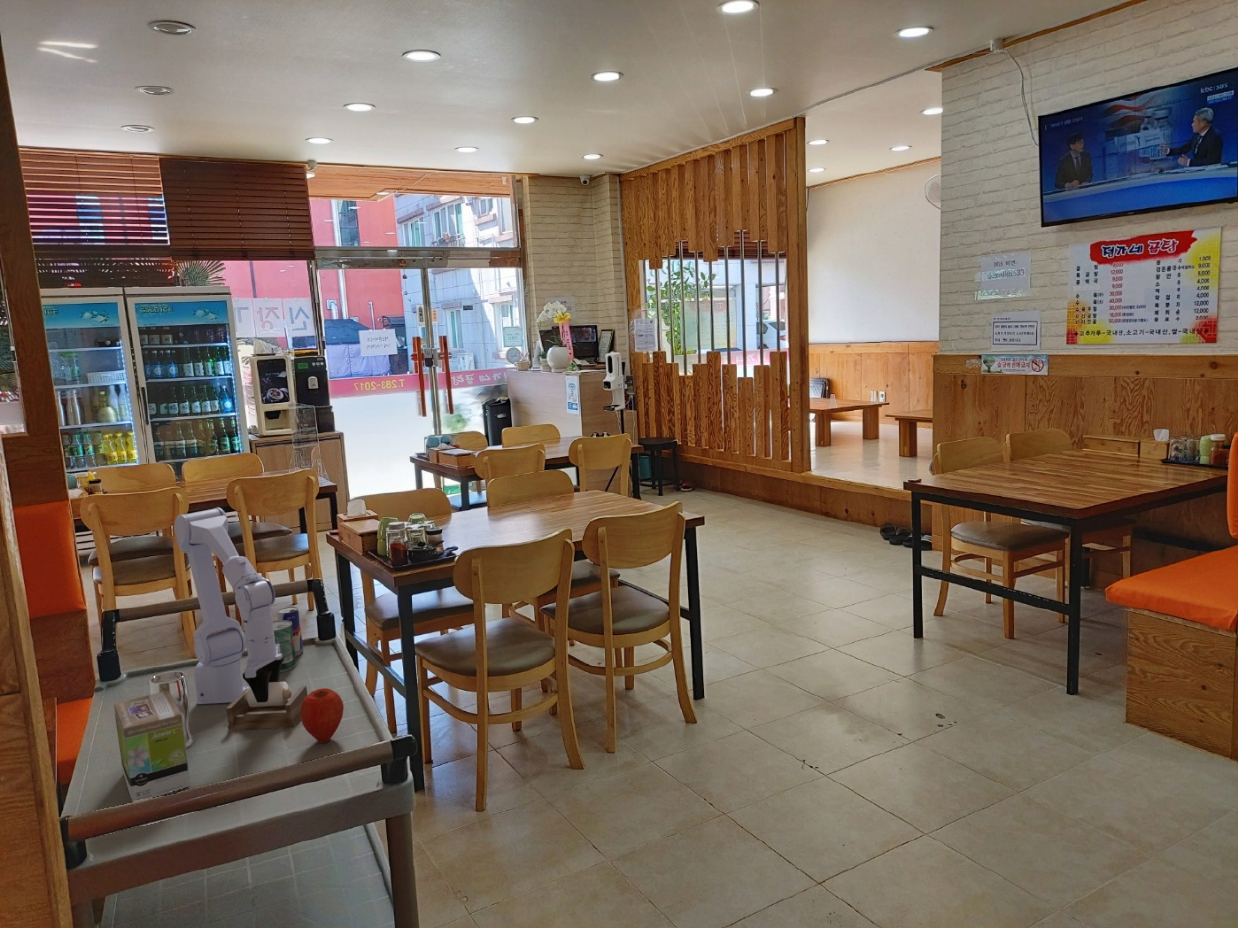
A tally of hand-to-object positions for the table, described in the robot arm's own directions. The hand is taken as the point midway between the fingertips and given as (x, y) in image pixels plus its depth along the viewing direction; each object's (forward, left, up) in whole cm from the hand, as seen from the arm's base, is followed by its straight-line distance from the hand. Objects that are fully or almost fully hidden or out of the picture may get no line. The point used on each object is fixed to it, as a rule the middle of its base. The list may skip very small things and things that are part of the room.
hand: (267, 696), depth 191 cm
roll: (0, 0, 0) cm, 0 cm away
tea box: (-12, -25, -5) cm, 28 cm away
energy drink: (-9, +39, -5) cm, 40 cm away
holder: (0, 0, -5) cm, 5 cm away
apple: (+16, -12, -5) cm, 21 cm away
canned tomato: (-9, +30, -5) cm, 32 cm away
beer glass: (-15, -11, -5) cm, 19 cm away
